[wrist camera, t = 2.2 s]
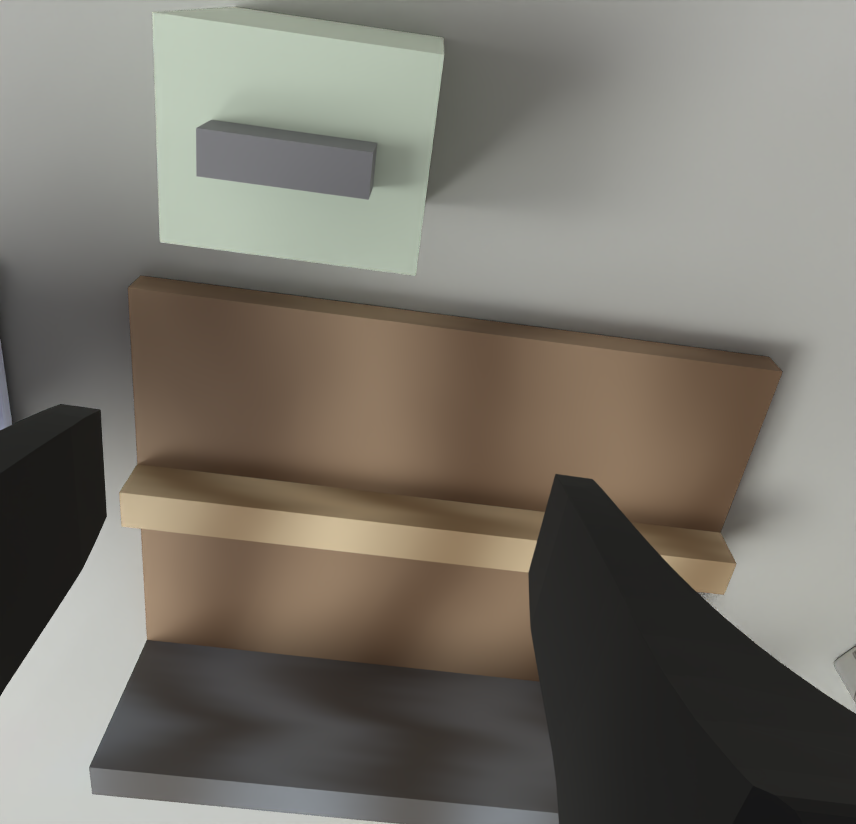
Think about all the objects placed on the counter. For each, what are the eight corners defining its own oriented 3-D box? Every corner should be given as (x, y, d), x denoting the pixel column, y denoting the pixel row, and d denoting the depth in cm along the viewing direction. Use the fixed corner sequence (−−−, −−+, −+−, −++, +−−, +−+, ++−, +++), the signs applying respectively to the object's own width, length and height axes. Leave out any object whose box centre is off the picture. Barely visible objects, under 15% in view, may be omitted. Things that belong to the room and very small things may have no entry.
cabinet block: (232, 177, 20) (142, 257, 14) (234, 6, 18) (130, 13, 12) (422, 203, 21) (413, 293, 14) (443, 37, 19) (444, 59, 13)
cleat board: (157, 643, 28) (92, 794, 23) (140, 275, 22) (43, 367, 16) (642, 695, 29) (687, 851, 24) (769, 356, 22) (870, 468, 17)
